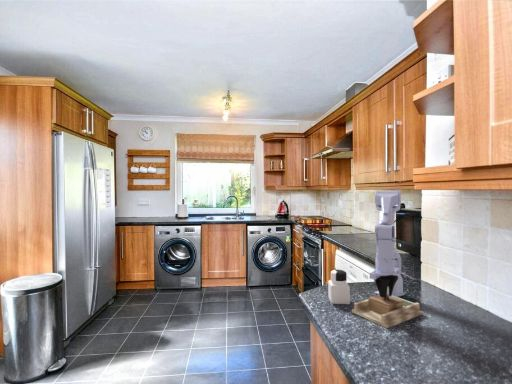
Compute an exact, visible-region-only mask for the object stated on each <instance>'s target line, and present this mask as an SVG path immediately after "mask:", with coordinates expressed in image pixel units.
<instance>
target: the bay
mask: <svg viewBox="0 0 512 384" xmlns="http://www.w3.org/2000/svg"><path fill="white" fill-rule="evenodd" d="M391 296H392V297H395V296H393V295H391ZM395 298H397V299H400V300H403V307H402V308H400V309H397V310H394V311H391V312H388V313H385V314H380V313H378V312H376V311H373V310H371V309H369V301H368V299H369V298H367V299H364V300H361V301H358V302H354V303H353V308H352V309H351V313H353V314H354V315H357V316H360V317H362V318H364V319H366V320H368V321H370V322H372V323H374V324H377V325H379V326H381V327H384V328H385V329H388V328H389V329H390V328H392V327H394V326H396V325H399V324H402V323H404V322H407V321H409V320H411V319H414V318H417V317H419V316H422V315H423V314H424V313H423V310H420V306H421V305H420V303H419V302H412V301H410V300H408V299H407V300H406V299H404V298H401V297H395Z"/></svg>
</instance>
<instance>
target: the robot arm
mask: <svg viewBox="0 0 512 384" xmlns="http://www.w3.org/2000/svg"><path fill="white" fill-rule="evenodd" d="M401 197H402V193H401V191H400V190H399V189H398V190H376V191H375V192H374V203H375V207H376V210H377V211H378V212H379V211H380V212H379V213H378V215H377V221H376V225H375V226H374V239H375V245H376V246H375V247H376V253H375V262H374V263H375V264H374V266H375V269H374V270H373V271H371V272H369V279H372V280H373V281H374V282H375V285H376V287H377V291H374V294H376V295H380V297H383V298H386V296H387V287H388V286H389V296H391V295H393V296H395V297H398V298H400V297H402V296H405V295H406V294H405V293H404V289H403V288H404V286H403V285H404V282H403V281H404V279H403V277H402V275H401V273H402V258H401V254H400V253H398V252H397V251H396V250H395V241H396V227H395V225H396V224H395V214H396V212H399V211H400V209H401V204H402V200H401V199H402V198H401Z"/></svg>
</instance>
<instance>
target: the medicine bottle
mask: <svg viewBox="0 0 512 384" xmlns="http://www.w3.org/2000/svg"><path fill="white" fill-rule="evenodd" d="M347 280H348V279H347V272H346V271H344V270H343V269H333V270H331V271H330V279H329V280H328V281H327V284H328V287H327V288H328V290H327V292H328V299H329V301H330V304H332V305H334V304H335V305H350V304H351V293H350V291H351V290H350V289H351V286H350V285H349V283H348V282H347Z"/></svg>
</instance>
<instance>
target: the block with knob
mask: <svg viewBox="0 0 512 384" xmlns="http://www.w3.org/2000/svg"><path fill="white" fill-rule="evenodd" d="M367 299H368V301H369V309H371V310H373V311H376V312H378V313H380V314H385V313H388V312H391V311H394V310H397V309H400V308H402V307H403V300H400V299H397V298H395V297H392V296H389V286H388V287H387V296H386V298H383V297H380V295H379V294H376V295H373V296H369V297H368V298H367Z"/></svg>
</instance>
